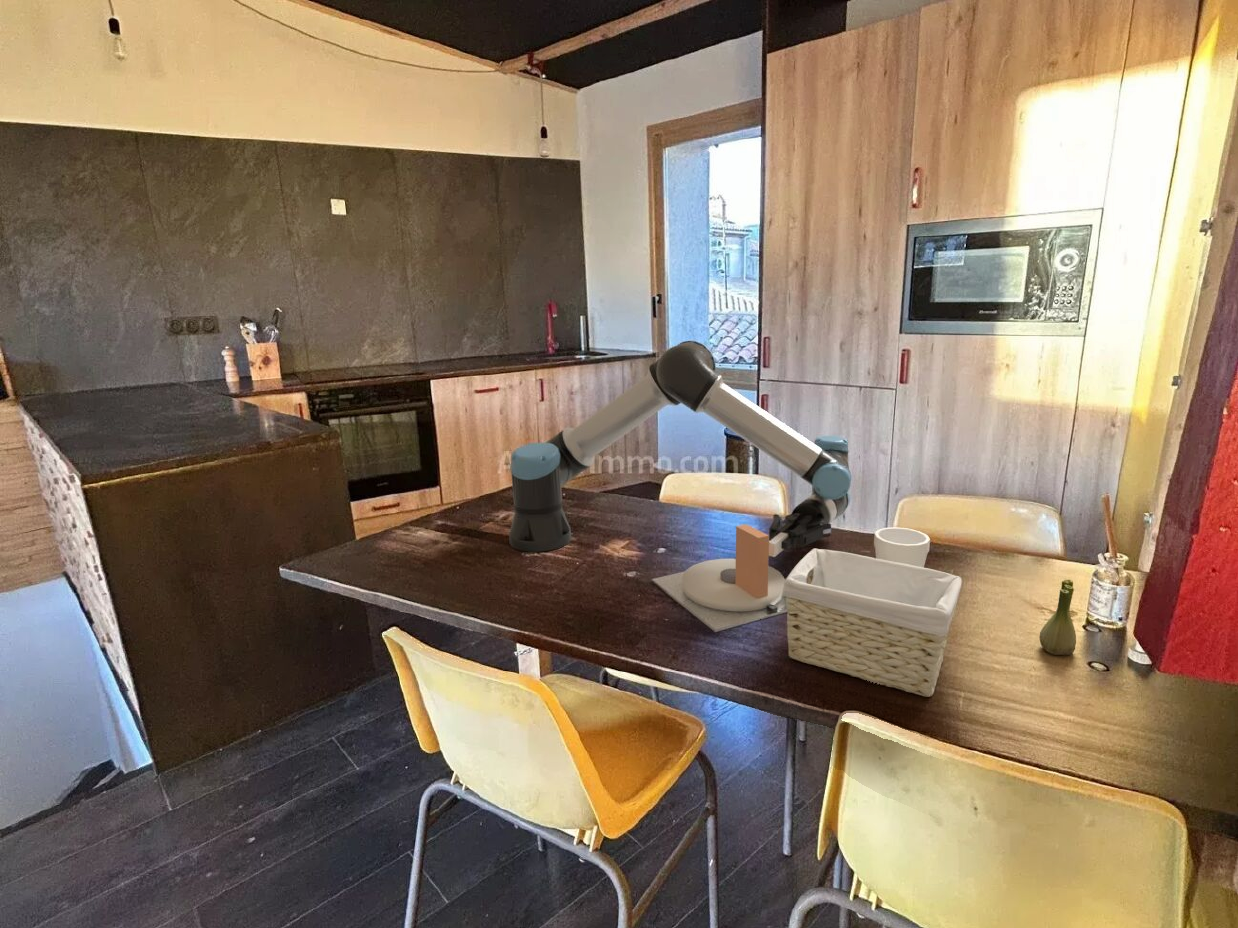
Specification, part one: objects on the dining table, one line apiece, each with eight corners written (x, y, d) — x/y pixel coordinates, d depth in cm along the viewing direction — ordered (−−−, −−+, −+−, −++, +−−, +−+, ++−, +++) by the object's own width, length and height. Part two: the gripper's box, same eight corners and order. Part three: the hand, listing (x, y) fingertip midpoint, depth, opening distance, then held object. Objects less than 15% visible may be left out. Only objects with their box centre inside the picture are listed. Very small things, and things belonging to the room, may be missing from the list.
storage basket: (955, 656, 106) (964, 571, 102) (940, 709, 93) (950, 614, 89) (808, 620, 119) (812, 544, 115) (777, 663, 105) (780, 578, 102)
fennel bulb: (1058, 662, 103) (1069, 592, 100) (1028, 647, 107) (1038, 580, 104) (1082, 653, 105) (1093, 585, 102) (1052, 639, 110) (1062, 573, 106)
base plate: (651, 581, 137) (651, 575, 136) (747, 559, 146) (747, 553, 146) (715, 632, 115) (715, 625, 115) (821, 602, 125) (822, 595, 125)
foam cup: (924, 593, 127) (930, 530, 124) (923, 615, 119) (930, 548, 116) (872, 586, 131) (876, 525, 128) (868, 606, 123) (872, 541, 120)
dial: (664, 579, 135) (663, 515, 132) (745, 560, 143) (746, 499, 140) (718, 620, 118) (718, 547, 114) (806, 596, 126) (809, 528, 122)
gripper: (842, 536, 143) (803, 574, 124) (785, 525, 150) (740, 560, 132) (844, 503, 141) (804, 537, 122) (786, 494, 148) (740, 525, 130)
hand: (771, 549), depth 127 cm, fingers closed
